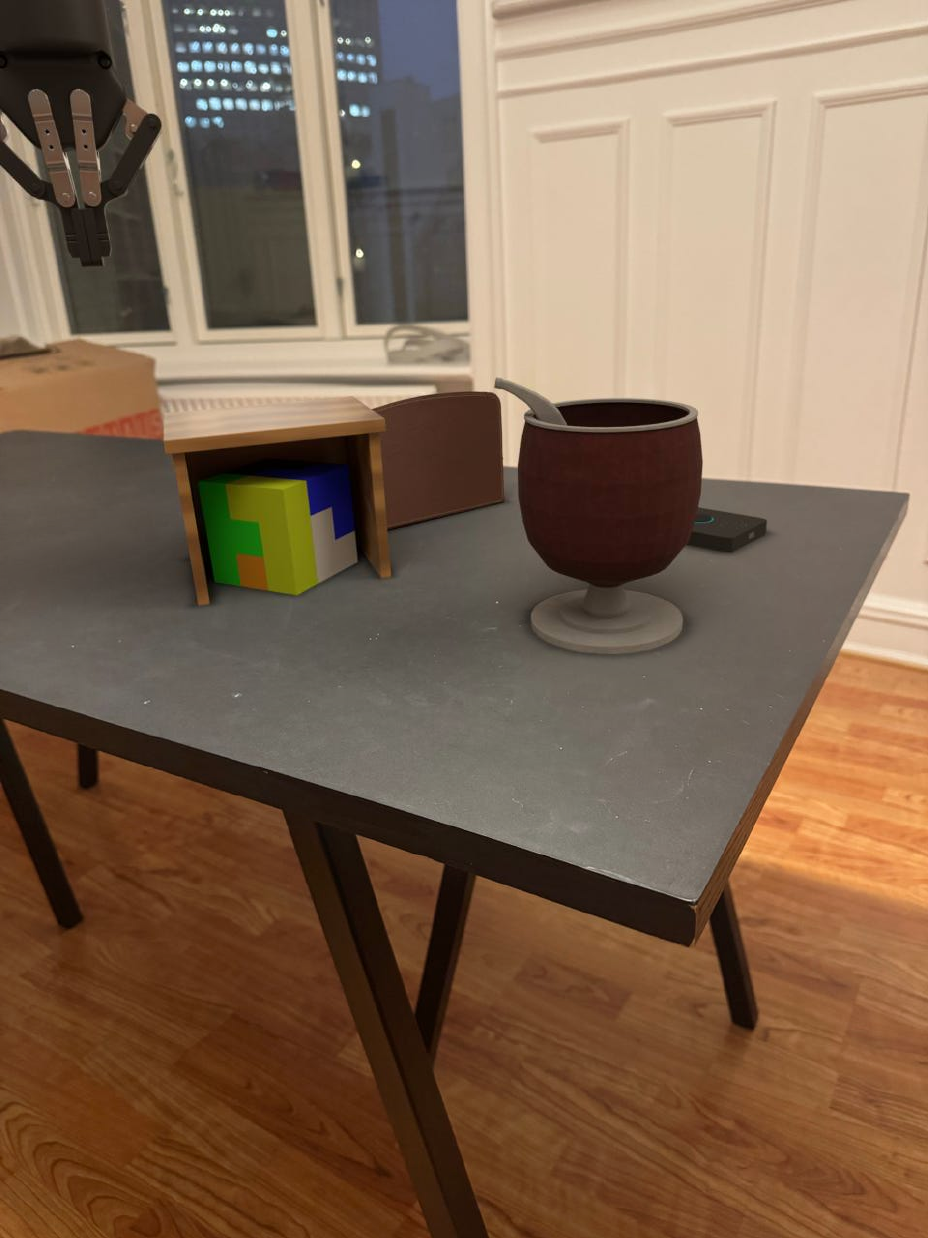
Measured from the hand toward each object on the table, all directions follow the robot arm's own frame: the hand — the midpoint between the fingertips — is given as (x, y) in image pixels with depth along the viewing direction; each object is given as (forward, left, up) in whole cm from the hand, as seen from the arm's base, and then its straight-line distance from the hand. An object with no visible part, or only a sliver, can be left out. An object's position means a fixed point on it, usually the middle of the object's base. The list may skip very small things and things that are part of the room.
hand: (93, 265), depth 63 cm
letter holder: (+29, +28, -29) cm, 50 cm away
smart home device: (+52, +9, -29) cm, 60 cm away
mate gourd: (+34, -12, -29) cm, 46 cm away
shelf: (+12, +13, -29) cm, 34 cm away
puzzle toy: (+12, +12, -29) cm, 34 cm away
